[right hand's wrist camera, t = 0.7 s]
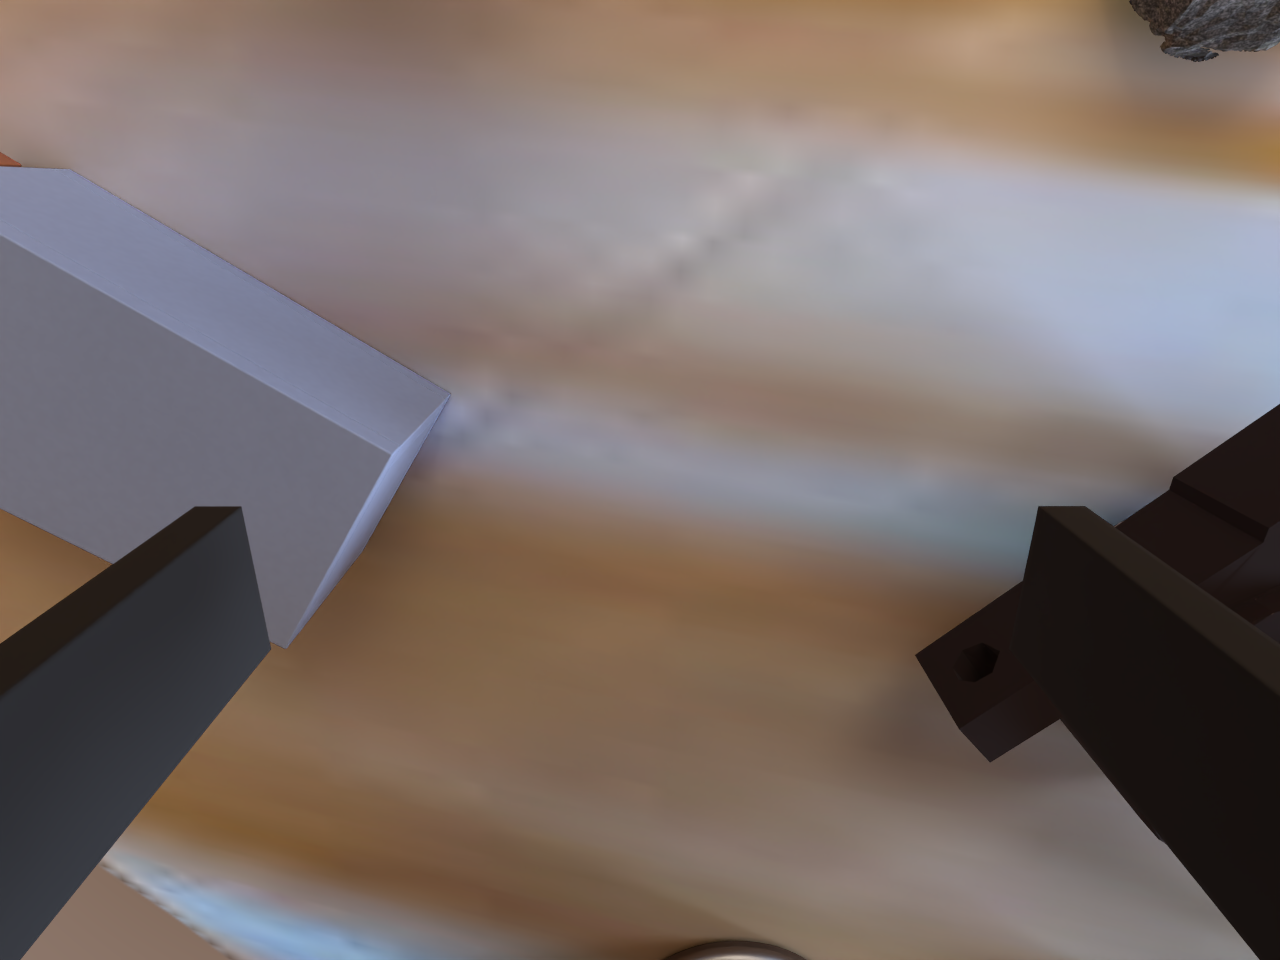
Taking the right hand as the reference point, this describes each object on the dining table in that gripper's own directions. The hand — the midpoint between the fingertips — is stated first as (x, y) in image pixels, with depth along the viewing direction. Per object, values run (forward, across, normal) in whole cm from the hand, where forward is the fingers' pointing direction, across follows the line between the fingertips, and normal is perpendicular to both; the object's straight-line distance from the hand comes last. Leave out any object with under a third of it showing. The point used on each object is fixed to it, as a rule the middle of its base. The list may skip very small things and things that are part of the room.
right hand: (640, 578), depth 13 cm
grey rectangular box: (+26, +21, +3) cm, 33 cm away
